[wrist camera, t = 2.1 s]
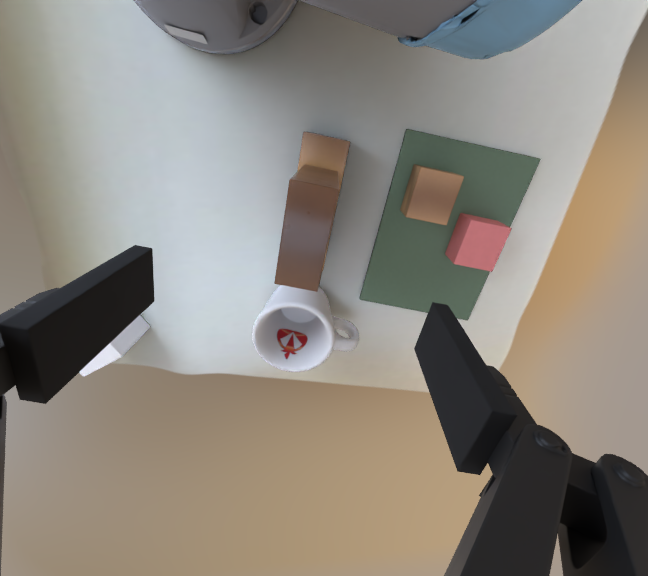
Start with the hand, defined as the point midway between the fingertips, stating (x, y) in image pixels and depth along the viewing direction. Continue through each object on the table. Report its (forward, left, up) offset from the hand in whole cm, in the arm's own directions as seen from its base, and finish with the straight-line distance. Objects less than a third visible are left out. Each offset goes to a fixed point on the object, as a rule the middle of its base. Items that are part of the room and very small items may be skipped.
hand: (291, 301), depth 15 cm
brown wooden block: (-1, 0, -20) cm, 20 cm away
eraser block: (0, +16, -20) cm, 26 cm away
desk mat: (0, +13, -20) cm, 24 cm away
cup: (+11, +2, -21) cm, 23 cm away
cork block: (-4, +10, -20) cm, 23 cm away
